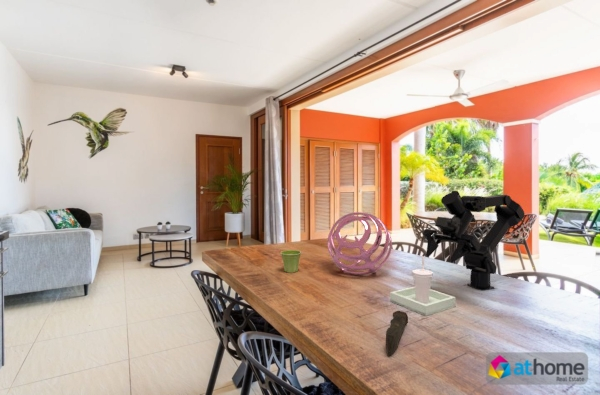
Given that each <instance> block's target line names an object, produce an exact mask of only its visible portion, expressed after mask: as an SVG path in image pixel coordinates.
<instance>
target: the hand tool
mask: <svg viewBox="0 0 600 395" xmlns="http://www.w3.org/2000/svg"><path fill="white" fill-rule="evenodd" d="M389 324H390V325H389V327H387V329H386V332H385V348H386V353H387V357H389V356H391V355H393V354H394V353H395V352H396V350H397V349H398V347H399V341H400V339H401V337H402V334H403V331H404V329H405V326H407V324H409V316H408V314H407V313H406V311H405V312H404V311H403V310H402V311H401V310H396V311H394V312H392V318H391V319H390V322H389Z"/></svg>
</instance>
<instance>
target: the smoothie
mask: <svg viewBox="0 0 600 395" xmlns="http://www.w3.org/2000/svg"><path fill="white" fill-rule="evenodd" d="M421 259H422V261H421V262H422V264H421V266H422V268H420V269H419V268H418V269H412V270H411V275H412V276H413V277H412V278H413V279H412V280H413V285H414V286H413V287H415V295H416V301H418V302H420V303H424V304H425V303H428V302H429V294H430V289H431V285H432V280H433V279H432V277H433V276H434V272H433V271H431V270H428V269H425V258H424V257H422V258H421Z"/></svg>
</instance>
